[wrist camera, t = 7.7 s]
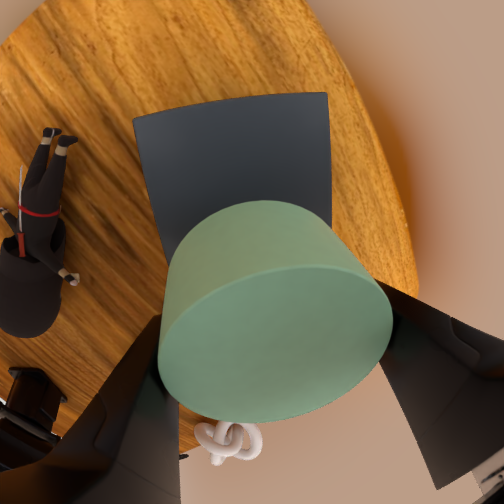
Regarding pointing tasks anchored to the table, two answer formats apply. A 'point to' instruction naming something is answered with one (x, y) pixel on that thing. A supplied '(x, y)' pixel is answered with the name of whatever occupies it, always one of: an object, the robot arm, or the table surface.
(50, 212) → the toy
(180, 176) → the plate
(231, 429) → the knot
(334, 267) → the mint green cylinder
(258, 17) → the table surface
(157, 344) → the robot arm
